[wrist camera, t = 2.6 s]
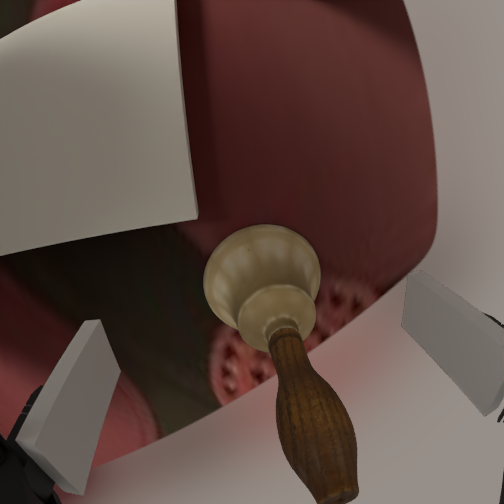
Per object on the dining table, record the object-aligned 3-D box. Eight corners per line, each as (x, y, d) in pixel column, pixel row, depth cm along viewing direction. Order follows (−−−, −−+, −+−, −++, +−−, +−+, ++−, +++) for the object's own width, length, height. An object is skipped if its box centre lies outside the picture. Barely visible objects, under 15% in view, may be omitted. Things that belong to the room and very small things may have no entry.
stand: (6, 249, 18) (-8, 257, 16) (-12, 59, 12) (-25, 55, 10) (198, 212, 19) (197, 219, 17) (176, -10, 14) (173, -24, 12)
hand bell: (259, 349, 23) (312, 543, 8) (178, 283, 20) (143, 514, 5) (340, 279, 22) (481, 440, 7) (266, 197, 19) (428, 345, 4)
